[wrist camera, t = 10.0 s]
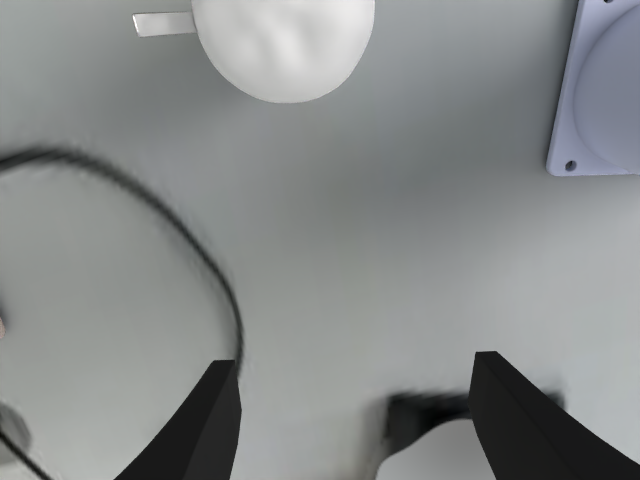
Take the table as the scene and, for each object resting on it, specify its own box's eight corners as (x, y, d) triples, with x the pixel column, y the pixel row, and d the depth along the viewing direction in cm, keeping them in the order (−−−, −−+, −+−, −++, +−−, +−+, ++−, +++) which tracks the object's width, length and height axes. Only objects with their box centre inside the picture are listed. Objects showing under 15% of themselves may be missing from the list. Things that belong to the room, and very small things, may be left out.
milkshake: (209, -35, 17) (96, -109, 8) (343, -55, 17) (380, -152, 8) (233, 85, 19) (163, 132, 10) (353, 69, 19) (392, 102, 10)
